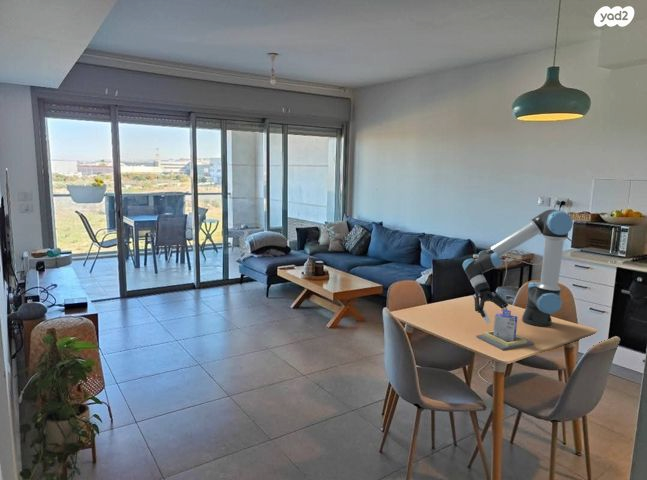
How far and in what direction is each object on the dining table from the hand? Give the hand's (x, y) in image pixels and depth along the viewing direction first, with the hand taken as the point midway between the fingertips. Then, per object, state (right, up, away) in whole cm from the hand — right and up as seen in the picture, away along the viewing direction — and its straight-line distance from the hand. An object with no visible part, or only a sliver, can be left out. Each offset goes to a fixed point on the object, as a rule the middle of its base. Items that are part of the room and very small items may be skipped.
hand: (499, 321), depth 224 cm
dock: (+2, -9, -2) cm, 10 cm away
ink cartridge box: (+2, -9, -3) cm, 9 cm away
